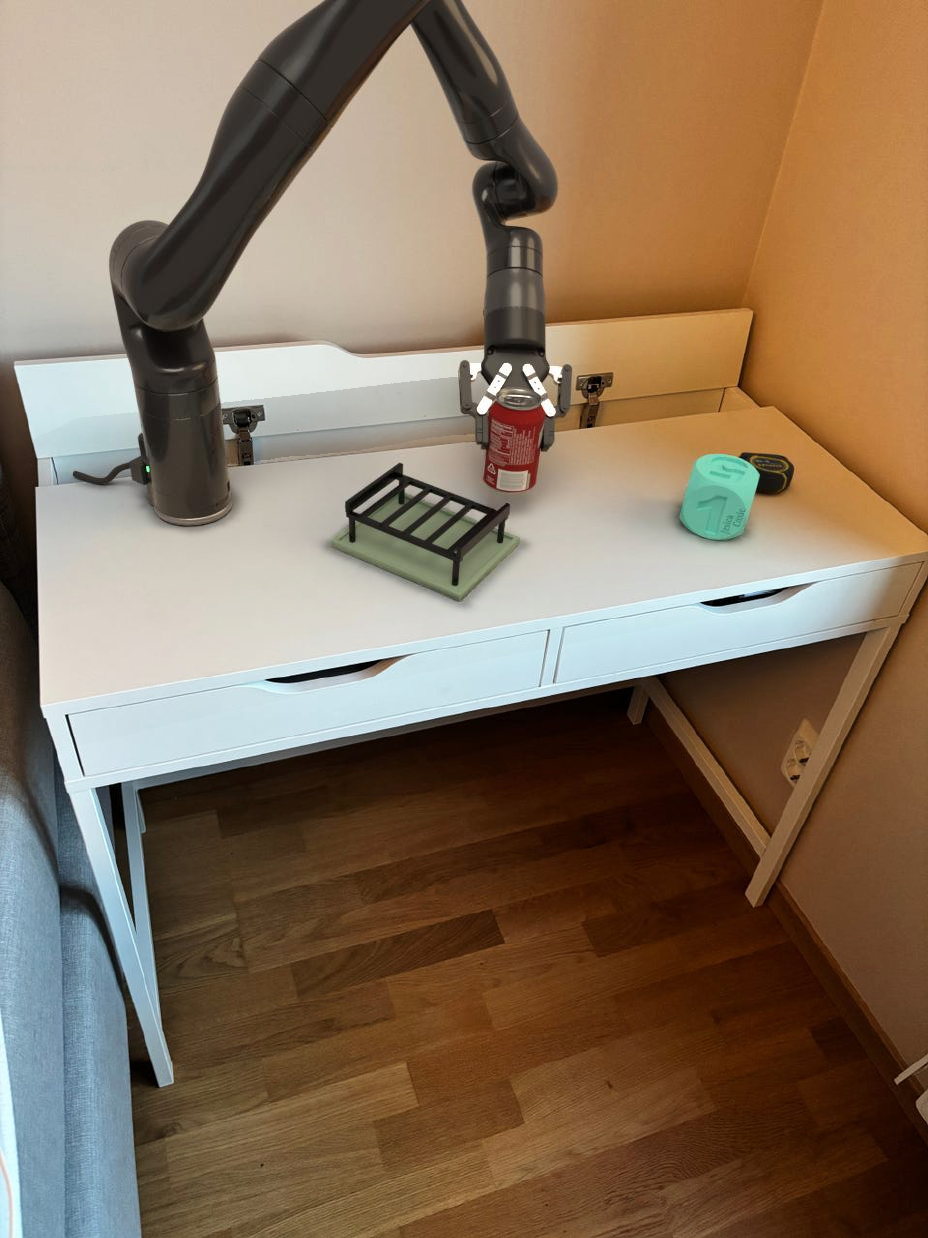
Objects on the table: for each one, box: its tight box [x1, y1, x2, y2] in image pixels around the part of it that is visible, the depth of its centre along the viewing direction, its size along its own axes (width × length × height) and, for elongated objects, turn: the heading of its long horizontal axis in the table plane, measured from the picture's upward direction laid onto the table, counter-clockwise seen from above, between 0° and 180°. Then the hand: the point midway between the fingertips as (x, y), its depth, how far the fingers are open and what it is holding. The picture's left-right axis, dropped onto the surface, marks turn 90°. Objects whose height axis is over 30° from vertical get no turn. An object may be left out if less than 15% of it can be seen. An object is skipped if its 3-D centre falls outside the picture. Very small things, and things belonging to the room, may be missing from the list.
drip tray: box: [330, 492, 521, 603], centre depth 113 cm, size 18×14×1 cm
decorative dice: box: [679, 453, 760, 541], centre depth 119 cm, size 8×8×8 cm
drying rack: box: [344, 462, 512, 586], centre depth 111 cm, size 16×11×6 cm
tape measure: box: [737, 451, 795, 494], centre depth 128 cm, size 7×7×4 cm
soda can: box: [481, 387, 545, 496], centre depth 115 cm, size 7×7×12 cm
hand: (515, 448), depth 114 cm, fingers closed on soda can, 7 cm apart
